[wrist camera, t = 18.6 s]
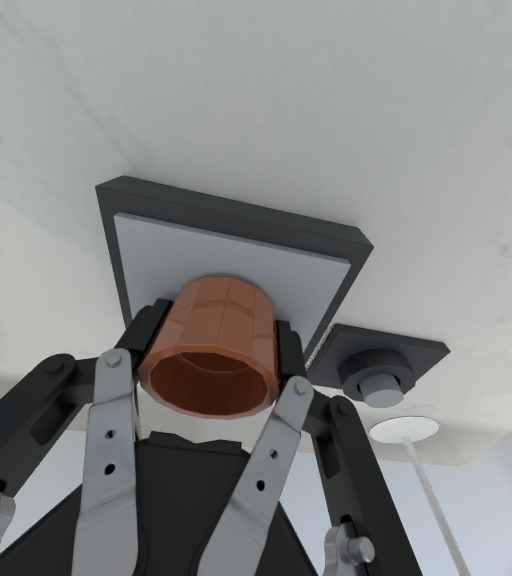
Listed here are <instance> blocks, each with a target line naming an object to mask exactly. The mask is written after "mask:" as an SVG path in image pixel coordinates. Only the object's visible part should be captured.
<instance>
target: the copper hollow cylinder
mask: <svg viewBox="0 0 512 576" xmlns="http://www.w3.org/2000/svg"><path fill="white" fill-rule="evenodd" d="M138 375H139V380H140V385H141V388H143V389H144V390H145V391H146V392H147V393H148V394H149V395H150V396H151V397H152V398H153V399H154V400H155V401H156V402H158V403H160V404H162V405H164V406H166V407H168V408H170V409H172V410H174V411H176V412H179V413H182V414H187V415H191V416H195V417H199V418H205V419H226V420H230V419H237V418H242V417H248V416H253V415H256V414H257V413H259V412H261V411H263V410H265V409H266V408H268V407H270V406H271V405H272V404H273V402H274V401H275V399H276V397H277V395H278V393H279V391H280V383H279V361H278V339H277V319H276V315H275V311H274V308H273V304H272V302H271V301H270V300H269V299H268V298H267V297H266V296H265V295H264V294H263V293H262V292H261V291H260V290H259V289H258V288H257V287H255V286H253V285H251V284H248V283H246V282H243V281H241V280H238V279H236V278H231V277H203V278H201V279H199V280H196V281H194V282H192V283H189V284H187V285H185V286H183V287H182V289H181V290H180V291H179V293H178V294H177V296H176V297H175V298H174V300H173V301H172V303H171V305H170V307H169V309H168V311H167V313H166V315H165V317H164V319H163V321H162V323H161V325H160V326H159V329H158V330H157V332H156V334H155V336H154V338H153V340H152V342H151V344H150V346H149V348H148V350H147V351H146V353H145V355H144V357H143V359H142V361H141V363H140V365H139V367H138Z"/></svg>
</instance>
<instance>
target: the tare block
mask: <svg viewBox="0 0 512 576" xmlns="http://www.w3.org/2000/svg"><path fill="white" fill-rule="evenodd" d="M450 352H451V351H450V350H449V349H448V347H447V346H446V345H445V344H444V343H439V342H433V341H428V340H422V339H417V338H411V337H406V336H400V335H395V334H389V333H384V332H378V331H373V330H367V329H362V328H356V327H350V326H345V325H339V324H336V325H335V327H334V328H333V330H332V331H331V333H330V335H329V336H328V338H327V340H326V341H325V343H324V345H323V346H322V348H321V350H320V351H319V353H318V354H317V356H316V358H315V359H314V361H313V363H312V364H311V366H310V368H309V369H308V371H307V372H306V375H307V379H308V381H309V382H310V383H311V385H317V386H324V387H330V388H337V389H343V393H344V394H345V395H346V396H348V397H349V398H351V399H353V400H355V401H361V402H365V401H364V398H363V395H362V392H361V389H360V386H359V382H360V381H361V380H362V379H365V378H367V377H369V376H372V375H377V374H389V375H393V376H394V377H395V379H396V381H397V383H398V385H399V387H400V389H401V391H402V393H403V395H405V394H406V393H407V392H408V391H409V390H411V389H412V388H413V387H414V386H415V382H416V381H417V380H418V379H419V378H420V377H421V376H423V375H424V374H425V373H426V372H427V371H429V370H430V369H431V368H432V367H433V366H434V365H436V364H437V363H438V362H439V361H440V360H442V359H443V358H444V357H445V356H446V355H448V354H449V353H450Z"/></svg>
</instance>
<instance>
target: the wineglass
mask: <svg viewBox="0 0 512 576" xmlns="http://www.w3.org/2000/svg"><path fill="white" fill-rule="evenodd" d="M438 430H439V424H438V423H437V422H436V421H434V420H432V419H430V418H424V417H400V418H394V419H390V420H386V421H384V422H381V423H379V424H377V425H375V426H374V427H372V428H371V430H370V431H369V435H370V437H371V438H372V439H374V440H376V441H379V442H384V443H404V444H405V446H406V449H407V451H408V453H409V456H410V458H411V460H412V463H413V465H414V468H415V470H416V472H417V475H418V477H419V479H420V482H421V484H422V486H423V489H424V491H425V494H426V496H427V498H428V501H429V503H430V506H431V508H432V510H433V513H434V515H435V517H436V520H437V522H438V525H439V527H440V529H441V532H442V534H443V536H444V539H445V541H446V543H447V546H448V548H449V551H450V553H451V556H452V558H453V560H454V563H455V565H456V567H457V570H458V572H459V575H460V576H471V575H470V573H469V571H468V568H467V566H466V564H465V561H464V559H463V557H462V555H461V552H460V550H459V548H458V546H457V543H456V541H455V539H454V537H453V534H452V532H451V530H450V528H449V525H448V523H447V521H446V519H445V516H444V514H443V512H442V510H441V507H440V505H439V503H438V501H437V499H436V496H435V494H434V492H433V490H432V487H431V485H430V483H429V481H428V479H427V476H426V474H425V471H424V469H423V467H422V465H421V462H420V460H419V458H418V456H417V453H416V451H415V449H414V447H413V444H412V442H414V441H419V440H422V439H425V438H428V437H429V436H431V435H433V434H435V433H436V432H437V431H438Z"/></svg>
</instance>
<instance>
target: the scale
mask: <svg viewBox="0 0 512 576" xmlns="http://www.w3.org/2000/svg"><path fill="white" fill-rule="evenodd" d="M95 189H96V193H97V198H98V203H99V207H100V212H101V217H102V221H103V226H104V230H105V235H106V240H107V244H108V249H109V254H110V258H111V263H112V268H113V272H114V277H115V281H116V286H117V291H118V295H119V300H120V305H121V309H122V314H123V318H124V323H125V328H126V329H127V328H128V326H129V325H130V323H131V322H132V320H133V319H134V317H135V316H136V314H137V313H138V311H139V310H140V309H142V308H143V307H145V306H146V305H150V306H153V305H154V303H155V301H156V300H157V299H158V298H163V299H168V300H172V301H173V300H174V298H175V297H176V296H177V294H178V293H179V291H180V290H181V289H182V287H183V286H185V285H187V284H189V283H192V282H194V281H196V280H199V279H201V278H203V277H231V278H236V279H238V280H241V281H243V282H246V283H248V284H251V285H253V286H255V287H257V288H258V289H259V290H260V291H261V292H262V293H263V294H264V295H265V296H266V297H267V298H268V299H269V300H270V301H271V302H272V304H273V308H274V311H275V315H276V319H279V320H285V321H289V322H290V326H291V330H292V331H297V333H298V334H299V336H300V338H301V342H302V349H303V355H304V362H305V365H306V363H307V361H308V359H309V358H310V356H311V354H312V353H313V351H314V349H315V347H316V346H317V344H318V342H319V341H320V339H321V337H322V335H323V334H324V332H325V330H326V329H327V327H328V325H329V323H330V322H331V320H332V318H333V317H334V315H335V313H336V311H337V310H338V308H339V306H340V305H341V303H342V301H343V299H344V298H345V296H346V294H347V293H348V291H349V289H350V287H351V286H352V284H353V282H354V281H355V279H356V277H357V275H358V274H359V272H360V270H361V269H362V267H363V265H364V263H365V262H366V260H367V258H368V257H369V255H370V253H371V251H372V250H373V248H374V246H373V245H372V244H371V242H370V241H369V240H368V239H367V238H366V236H365V235H364V234H363V233H362V232H361V230H360V229H359V228H355V227H350V226H346V225H341V224H337V223H332V222H328V221H324V220H319V219H315V218H310V217H306V216H301V215H297V214H292V213H288V212H283V211H279V210H274V209H270V208H265V207H261V206H257V205H252V204H248V203H243V202H239V201H234V200H230V199H225V198H221V197H216V196H212V195H207V194H203V193H198V192H194V191H190V190H185V189H181V188H176V187H172V186H167V185H163V184H158V183H154V182H149V181H145V180H140V179H136V178H131V177H127V176H120V177H117V178H115V179H112V180H109V181H107V182H104V183H102V184H99V185H97V186H95Z"/></svg>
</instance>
